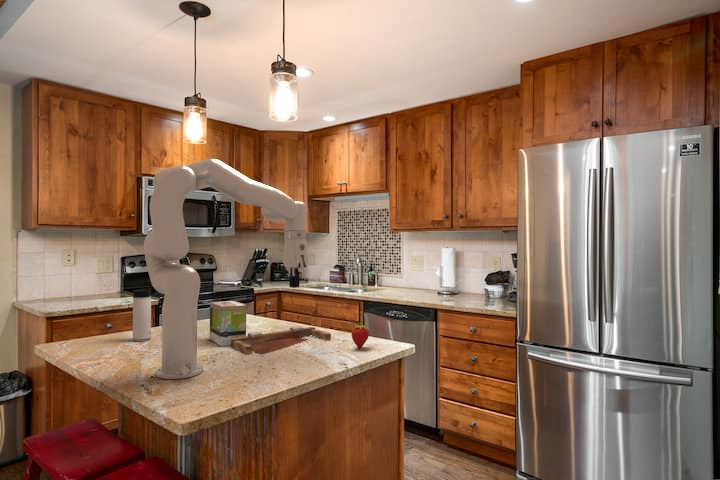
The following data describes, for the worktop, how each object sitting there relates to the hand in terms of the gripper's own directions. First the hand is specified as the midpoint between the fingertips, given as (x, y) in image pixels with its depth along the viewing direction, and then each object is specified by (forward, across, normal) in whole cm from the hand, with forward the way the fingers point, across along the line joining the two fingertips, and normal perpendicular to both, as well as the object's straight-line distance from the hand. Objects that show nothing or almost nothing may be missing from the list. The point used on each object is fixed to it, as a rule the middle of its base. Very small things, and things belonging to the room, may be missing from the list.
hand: (294, 287), depth 157 cm
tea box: (+22, +26, +14) cm, 37 cm away
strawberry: (+22, -14, -19) cm, 33 cm away
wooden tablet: (+23, +8, +1) cm, 25 cm away
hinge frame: (+22, +10, -1) cm, 24 cm away
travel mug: (+22, +48, +39) cm, 66 cm away
